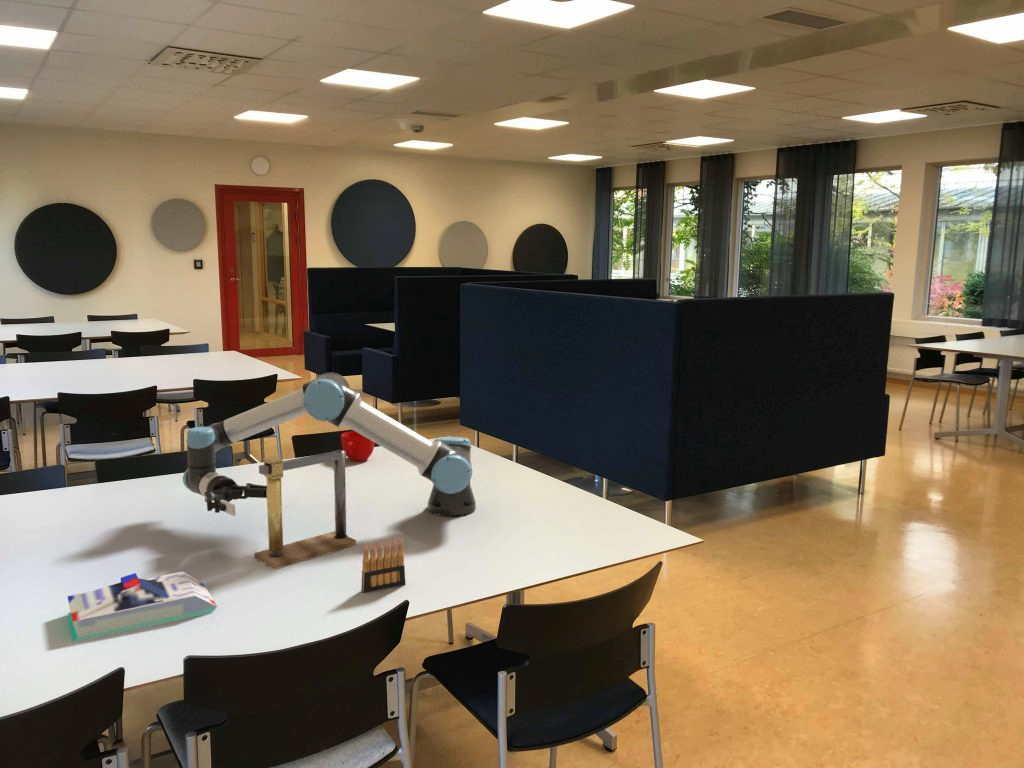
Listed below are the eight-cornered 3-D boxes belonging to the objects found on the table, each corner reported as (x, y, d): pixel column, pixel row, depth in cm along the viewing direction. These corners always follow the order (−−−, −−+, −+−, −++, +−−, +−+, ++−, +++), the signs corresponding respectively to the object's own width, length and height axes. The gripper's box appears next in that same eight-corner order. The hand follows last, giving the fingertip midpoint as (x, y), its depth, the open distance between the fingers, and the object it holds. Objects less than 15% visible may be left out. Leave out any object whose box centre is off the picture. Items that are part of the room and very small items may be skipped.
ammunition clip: (363, 593, 195) (363, 545, 193) (361, 590, 196) (360, 542, 194) (405, 584, 200) (405, 538, 198) (402, 582, 202) (402, 535, 200)
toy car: (61, 615, 182) (58, 578, 180) (202, 588, 198) (201, 553, 196) (67, 647, 168) (64, 606, 166) (218, 615, 183) (217, 578, 182)
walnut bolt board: (336, 535, 233) (336, 530, 233) (357, 544, 226) (357, 539, 226) (254, 558, 215) (254, 552, 215) (274, 569, 208) (273, 563, 208)
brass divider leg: (278, 548, 217) (275, 456, 213) (286, 553, 214) (283, 459, 210) (265, 552, 214) (262, 458, 210) (274, 556, 211) (270, 461, 207)
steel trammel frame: (342, 534, 230) (340, 449, 226) (348, 536, 228) (347, 451, 224) (261, 556, 213) (257, 465, 209) (266, 559, 211) (263, 467, 207)
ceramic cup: (332, 465, 308) (332, 439, 307) (348, 454, 325) (348, 430, 323) (365, 467, 306) (365, 441, 304) (380, 456, 323) (379, 431, 321)
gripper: (259, 492, 242) (298, 508, 227) (176, 510, 224) (213, 529, 209) (258, 467, 240) (298, 482, 226) (174, 483, 222) (212, 501, 208)
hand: (257, 504), depth 218 cm, fingers open, 13 cm apart
